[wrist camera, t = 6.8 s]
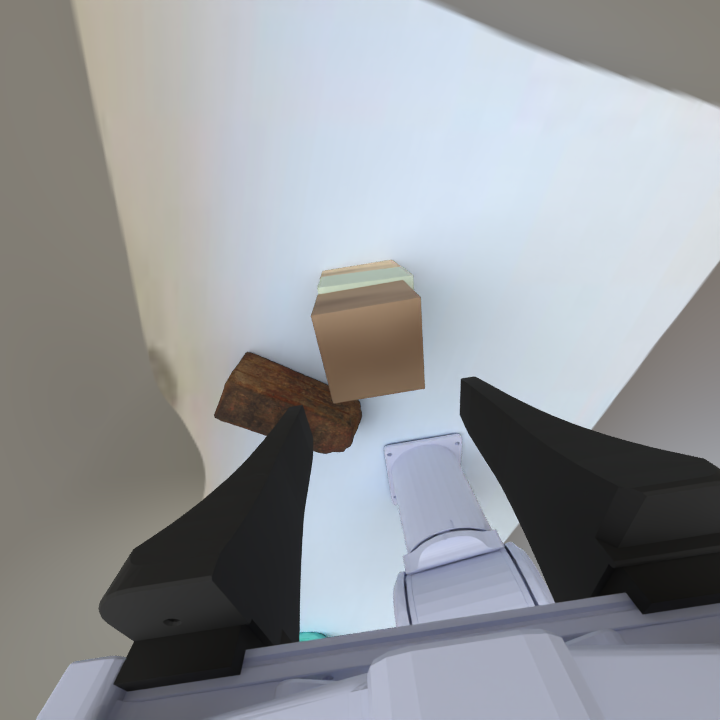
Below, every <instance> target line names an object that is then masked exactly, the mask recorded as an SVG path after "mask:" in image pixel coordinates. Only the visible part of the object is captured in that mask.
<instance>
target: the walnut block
mask: <svg viewBox="0 0 720 720" xmlns="http://www.w3.org/2000/svg"><path fill="white" fill-rule="evenodd" d="M311 318H312V322H313V326H314V330H315V334H316V338H317V342H318V346H319V350H320V354H321V357H322V361H323V365H324V369H325V373H326V377H327V381H328V385H329V389H330V393H331V397H332V401H333V403H340V402H346V401H352V400H358V399H364V398H370V397H376V396H383V395H389V394H395V393H401V392H407V391H413V390H419V389H425V380H424V359H423V337H422V316H421V297H420V296H419V295H418V294H417V293H416V292H415V291H414V290H413V289H412V288H411V287H410V286H409V285H408V284H407V283H406V282H405V281H404V280H400V281H394V282H388V283H382V284H376V285H370V286H365V287H359V288H353V289H347V290H341V291H336V292H330V293H324V294H318V296H317V299H316V302H315V305H314V308H313V311H312V314H311Z"/></svg>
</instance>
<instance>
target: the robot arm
mask: <svg viewBox="0 0 720 720" xmlns="http://www.w3.org/2000/svg"><path fill="white" fill-rule="evenodd" d="M460 416H461V418H462V421H463V423H464V425H465V427H466V429H467V431H468V433H469V435H470V437H471V438H472V440H473V442H474V443H475V445H476V446H477V448H478V450H479V451H480V453H481V454H482V456H483V457H484V459H485V461H486V462H487V464H488V465H489V467H490V468H491V470H492V472H493V473H494V475H495V476H496V478H497V480H498V481H499V483H500V485H501V487H502V488H503V490H504V492H505V494H506V496H507V498H508V500H509V502H510V504H511V506H512V508H513V510H514V512H515V514H516V517H517V519H518V521H519V523H520V525H521V527H522V529H523V531H524V533H525V535H526V538H527V540H528V542H529V544H530V546H531V548H532V551H533V553H534V555H535V557H536V560H537V562H538V564H539V566H540V569H541V571H542V573H543V576H544V578H545V581H546V583H547V585H548V587H547V585H546V584H545V582H544V580H543V578H542V577H541V575H540V573H539V571H538V570H537V568H536V566H535V565H534V563H533V562H532V560H531V559H530V557H529V556H528V554H527V553H526V552H525V551H524V550H523V549H521V548H519V547H518V546H516V545H515V544H514V543H512V542H508V543H505V544H504V545H503V543H502V541H501V539H500V537H499V535H498V533H497V531H496V530H492V529H491V527H490V525H489V523H488V521H487V519H486V517H485V515H484V513H483V511H482V509H481V507H480V505H479V503H478V501H477V498H476V496H475V494H474V492H473V490H472V488H471V486H470V484H469V482H468V480H467V478H466V476H465V474H464V472H463V470H462V468H461V450H462V437H461V436H460V434H452V435H446V436H440V437H434V438H428V439H422V440H416V441H410V442H404V443H398V444H392V445H387V446H385V447H384V454H385V460H386V467H387V473H388V479H389V486H390V492H391V498H392V503H393V504H394V505H398V508H399V513H400V518H401V523H402V528H403V533H404V538H405V543H406V548H407V553H408V554H406V555H404V556H403V560H404V566H405V571H404V572H400V573H399V574H398V576H397V580H396V583H395V585H394V590H393V603H394V614H395V621H396V627H394V628H387V629H381V630H374V631H367V632H361V633H354V634H348V635H341V636H334V637H328V638H321V639H315V640H308V641H301V642H299V631H300V580H301V555H302V537H303V521H304V512H305V504H306V498H307V492H308V486H309V480H310V474H311V467H312V460H313V435H312V432H311V429H310V426H309V423H308V420H307V417H306V413H305V410H304V407H303V405H298V406H292V407H289V408H288V409H287V411H286V412H285V413H284V415H283V416H282V417H281V419H280V420H279V421H278V423H277V424H276V425H275V426H274V428H273V429H272V430H271V432H270V433H269V434H268V435H267V437H266V438H265V439H264V440H263V442H262V443H261V444H260V445H259V446H258V447H257V449H256V450H255V451H254V452H253V453H252V454H251V455H250V457H249V458H248V459H247V460H246V461H245V462H244V463H243V464H242V465H241V466H240V467H239V468H238V469H237V470H236V471H235V472H234V473H233V474H232V475H231V476H230V477H229V478H228V479H227V480H225V481H224V482H223V483H222V484H221V485H220V486H219V487H217V488H216V489H215V490H214V491H213V492H212V493H210V494H209V495H208V496H207V497H206V498H205V499H203V500H202V501H201V502H200V503H198V504H197V505H196V506H195V507H193V508H192V509H191V510H189V511H188V512H187V513H185V514H184V515H183V516H181V517H180V518H179V519H177V520H176V521H175V522H173V523H172V524H170V525H169V526H168V527H166V528H165V529H163V530H162V531H160V532H159V533H157V534H156V535H154V536H153V537H151V538H150V539H148V540H147V541H145V542H144V543H142V544H141V545H139V546H138V547H136V548H135V549H133V551H132V552H131V554H130V555H129V557H128V559H127V560H126V562H125V563H124V565H123V567H122V568H121V570H120V571H119V573H118V574H117V576H116V578H115V579H114V581H113V582H112V584H111V585H110V587H109V589H108V590H107V592H106V593H105V595H104V597H103V598H102V600H101V601H100V604H99V612H100V614H101V617H102V618H103V619H104V620H105V621H106V622H107V623H108V624H109V625H111V626H112V627H114V628H115V629H117V630H118V631H120V632H121V633H123V634H124V635H126V636H127V637H128V638H130V639H131V640H133V641H134V643H133V645H132V647H131V649H130V651H129V653H128V655H127V657H122V656H107V657H101V658H95V659H88V660H81V661H75V662H73V663H71V664H70V665H69V666H68V668H67V670H66V671H65V673H64V674H63V676H62V678H61V679H60V681H59V683H58V684H57V686H56V687H55V689H54V691H53V693H52V694H51V696H50V697H49V699H48V700H47V702H46V704H45V706H44V707H43V709H42V710H41V712H40V713H39V715H38V717H37V718H36V720H720V469H719V468H718V467H716V466H715V465H713V464H712V463H710V462H709V461H707V460H705V459H703V458H698V457H694V456H689V455H684V454H680V453H675V452H670V451H666V450H661V449H657V448H653V447H648V446H644V445H641V444H637V443H633V442H629V441H626V440H622V439H618V438H615V437H611V436H608V435H605V434H602V433H599V432H596V431H593V430H590V429H587V428H584V427H581V426H578V425H575V424H572V423H570V422H567V421H565V420H562V419H560V418H557V417H555V416H552V415H550V414H547V413H545V412H543V411H541V410H538V409H536V408H534V407H532V406H530V405H528V404H526V403H524V402H522V401H520V400H518V399H516V398H514V397H512V396H510V395H508V394H506V393H504V392H503V391H501V390H499V389H497V388H495V387H493V386H492V385H490V384H488V383H486V382H484V381H482V380H481V379H479V378H477V377H468V378H462V379H461V391H460ZM455 442H456V443H455ZM548 588H549V589H548ZM549 590H550V591H549ZM550 592H551V593H550Z"/></svg>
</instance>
